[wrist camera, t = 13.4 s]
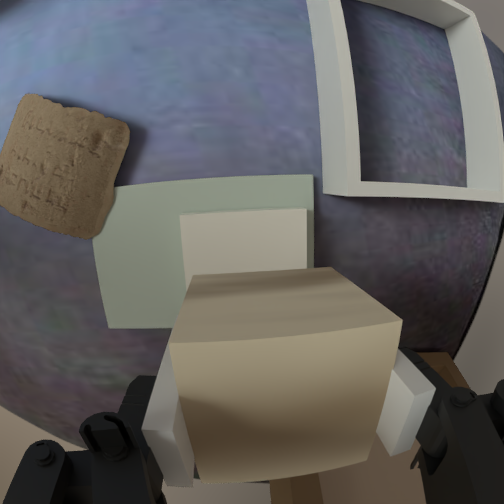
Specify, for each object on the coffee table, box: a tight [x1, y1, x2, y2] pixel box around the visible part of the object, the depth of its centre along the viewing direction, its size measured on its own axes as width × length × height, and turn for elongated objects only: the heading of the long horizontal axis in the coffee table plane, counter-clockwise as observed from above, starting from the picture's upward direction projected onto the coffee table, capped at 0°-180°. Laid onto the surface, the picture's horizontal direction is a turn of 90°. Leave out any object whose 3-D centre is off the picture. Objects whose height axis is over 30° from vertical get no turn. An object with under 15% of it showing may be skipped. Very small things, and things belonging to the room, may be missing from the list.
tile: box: [179, 207, 307, 290], centre depth 22 cm, size 2×9×9 cm
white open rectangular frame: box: [307, 0, 504, 203], centre depth 19 cm, size 18×21×5 cm
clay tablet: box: [0, 93, 130, 240], centre depth 19 cm, size 14×10×3 cm
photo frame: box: [269, 352, 471, 504], centre depth 17 cm, size 15×22×25 cm
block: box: [168, 267, 403, 483], centre depth 10 cm, size 6×6×6 cm
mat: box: [92, 175, 314, 329], centre depth 23 cm, size 18×12×1 cm, turn 92°
